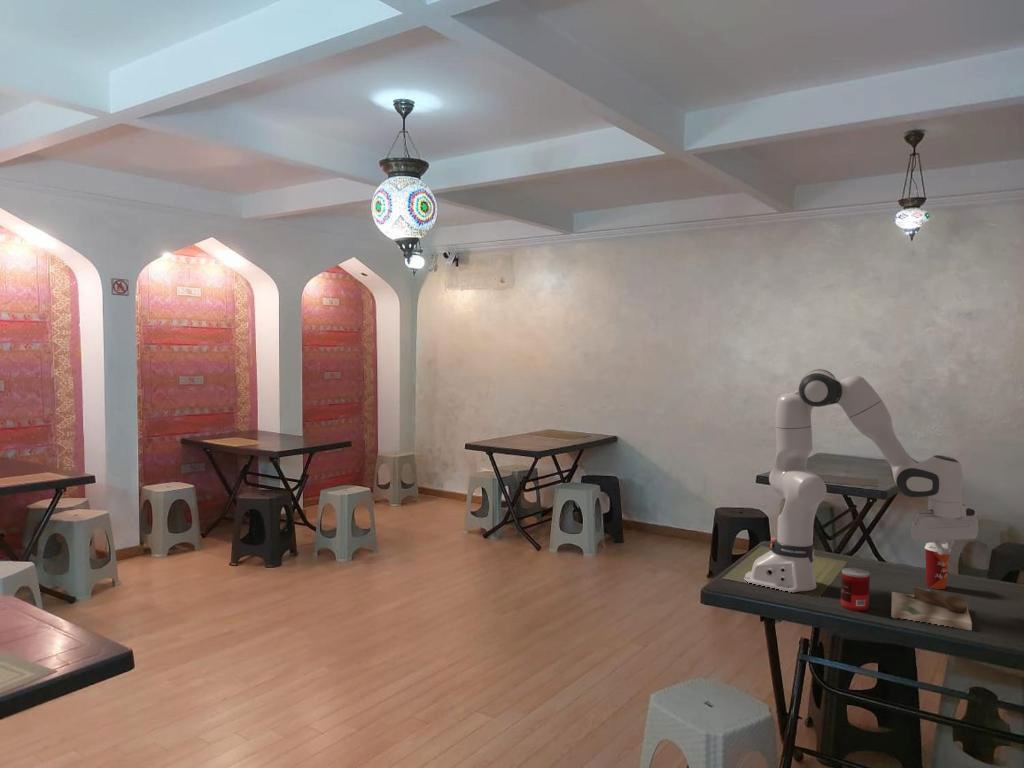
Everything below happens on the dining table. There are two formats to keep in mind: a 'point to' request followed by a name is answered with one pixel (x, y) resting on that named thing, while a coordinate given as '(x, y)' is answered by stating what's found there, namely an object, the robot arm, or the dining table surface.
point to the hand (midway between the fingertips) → (943, 554)
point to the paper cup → (936, 567)
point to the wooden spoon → (942, 599)
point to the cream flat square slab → (927, 612)
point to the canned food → (855, 589)
